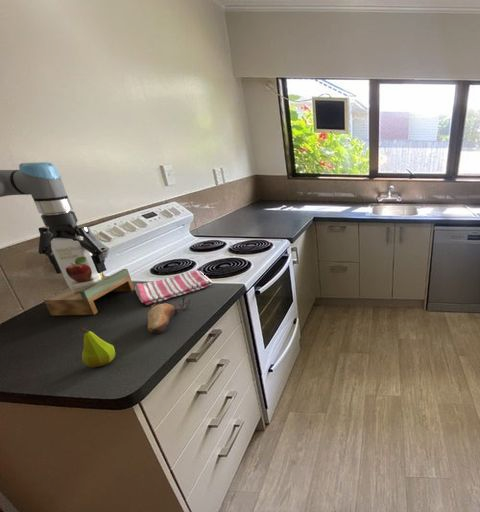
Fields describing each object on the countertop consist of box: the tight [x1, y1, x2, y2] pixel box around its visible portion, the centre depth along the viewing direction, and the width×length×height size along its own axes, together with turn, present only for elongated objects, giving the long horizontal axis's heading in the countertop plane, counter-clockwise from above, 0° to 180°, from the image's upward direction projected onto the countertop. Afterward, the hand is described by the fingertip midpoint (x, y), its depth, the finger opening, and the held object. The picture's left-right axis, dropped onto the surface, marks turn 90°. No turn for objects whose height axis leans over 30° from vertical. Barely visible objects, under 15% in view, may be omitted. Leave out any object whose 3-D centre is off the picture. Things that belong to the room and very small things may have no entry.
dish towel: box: [133, 270, 214, 306], centre depth 114 cm, size 17×23×4 cm
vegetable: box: [146, 293, 191, 335], centre depth 91 cm, size 16×11×10 cm
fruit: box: [80, 327, 116, 368], centre depth 74 cm, size 6×6×12 cm
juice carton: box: [51, 236, 103, 293], centre depth 100 cm, size 8×9×19 cm
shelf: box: [43, 268, 135, 316], centre depth 104 cm, size 14×18×9 cm
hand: (82, 271), depth 101 cm, fingers open, 13 cm apart
